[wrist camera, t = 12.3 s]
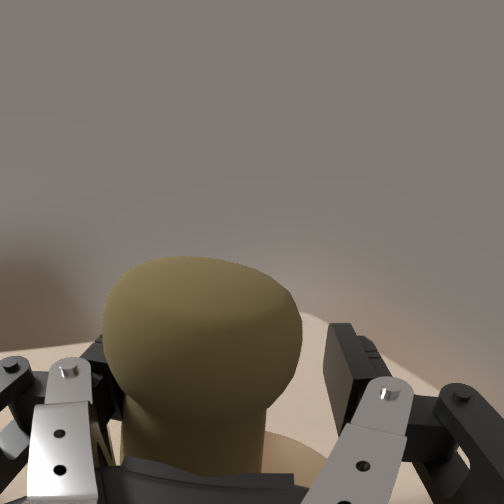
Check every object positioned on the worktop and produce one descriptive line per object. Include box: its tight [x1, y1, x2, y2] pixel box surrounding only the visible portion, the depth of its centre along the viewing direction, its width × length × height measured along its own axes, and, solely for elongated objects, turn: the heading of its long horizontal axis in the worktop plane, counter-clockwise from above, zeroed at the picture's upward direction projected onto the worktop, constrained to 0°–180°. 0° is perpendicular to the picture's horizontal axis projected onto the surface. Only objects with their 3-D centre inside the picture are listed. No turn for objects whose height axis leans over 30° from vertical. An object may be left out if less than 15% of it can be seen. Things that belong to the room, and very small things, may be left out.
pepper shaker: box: [102, 256, 302, 477], centre depth 9 cm, size 6×6×11 cm
